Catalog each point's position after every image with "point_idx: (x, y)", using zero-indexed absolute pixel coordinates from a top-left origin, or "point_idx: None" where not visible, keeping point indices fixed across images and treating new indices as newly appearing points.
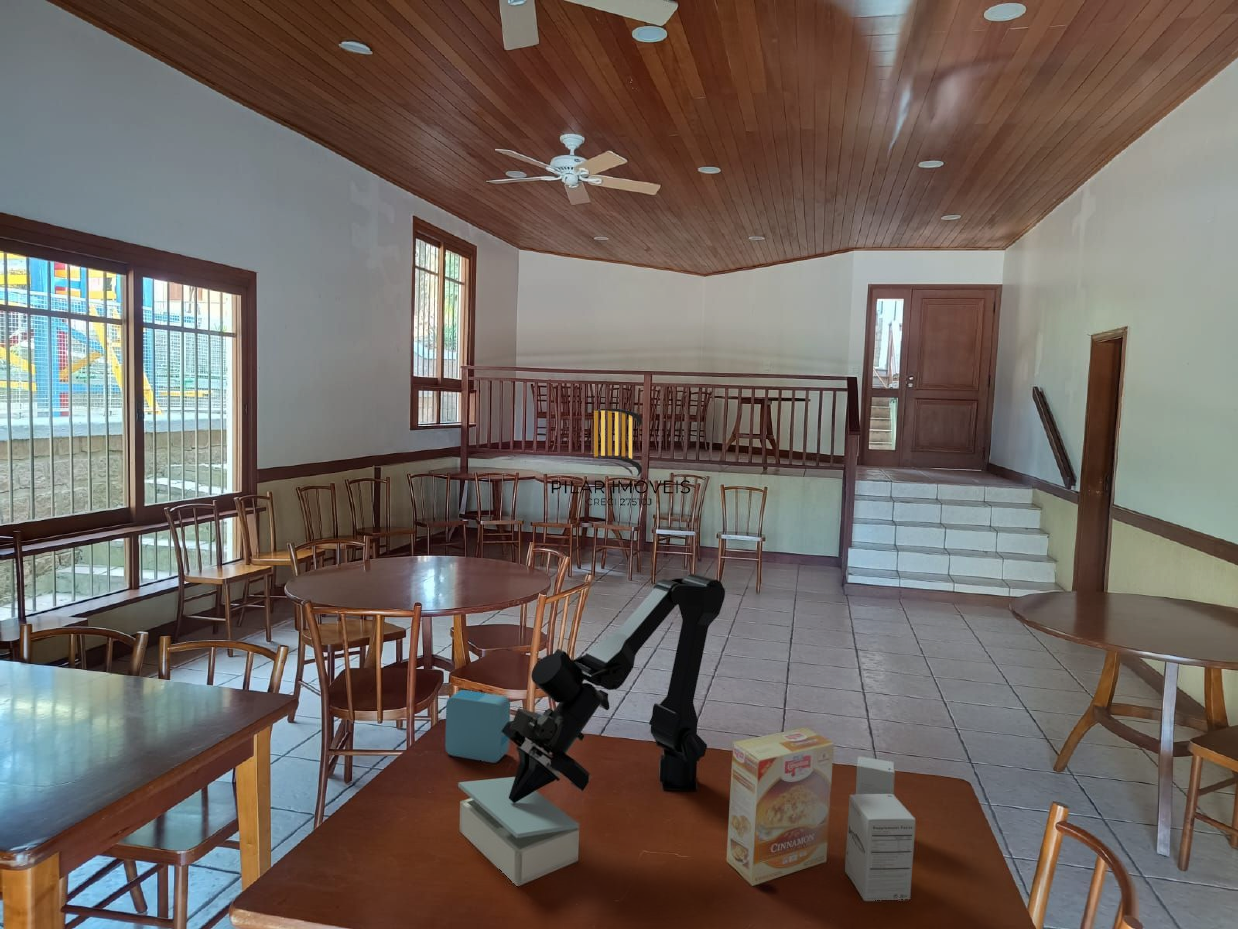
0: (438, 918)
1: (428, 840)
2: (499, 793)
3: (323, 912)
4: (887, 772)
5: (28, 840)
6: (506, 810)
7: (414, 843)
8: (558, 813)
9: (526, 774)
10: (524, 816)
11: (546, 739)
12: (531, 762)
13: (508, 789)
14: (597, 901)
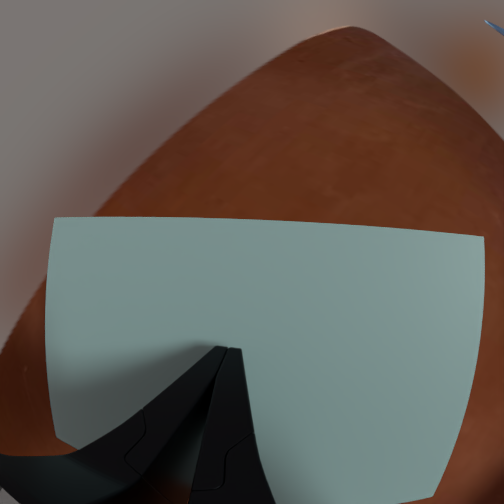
0: (177, 132)
1: (409, 213)
2: (347, 365)
3: (300, 51)
4: None
5: (492, 25)
6: (180, 286)
7: (411, 187)
8: None
9: (139, 447)
10: (117, 323)
11: None
12: (58, 487)
13: (363, 425)
14: (36, 347)
